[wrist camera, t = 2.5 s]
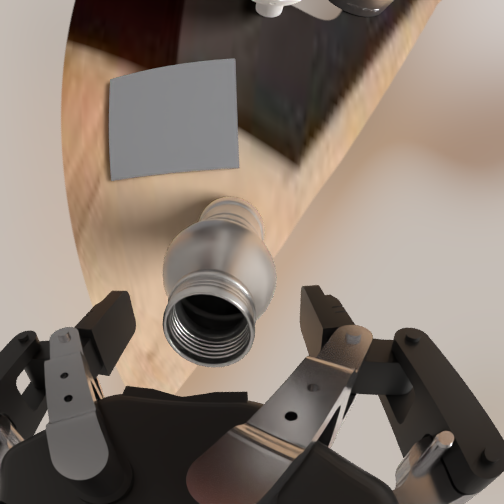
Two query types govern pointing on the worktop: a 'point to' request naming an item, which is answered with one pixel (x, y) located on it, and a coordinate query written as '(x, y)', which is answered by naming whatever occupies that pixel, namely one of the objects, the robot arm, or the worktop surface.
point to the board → (174, 120)
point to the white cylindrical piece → (272, 6)
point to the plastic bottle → (217, 284)
